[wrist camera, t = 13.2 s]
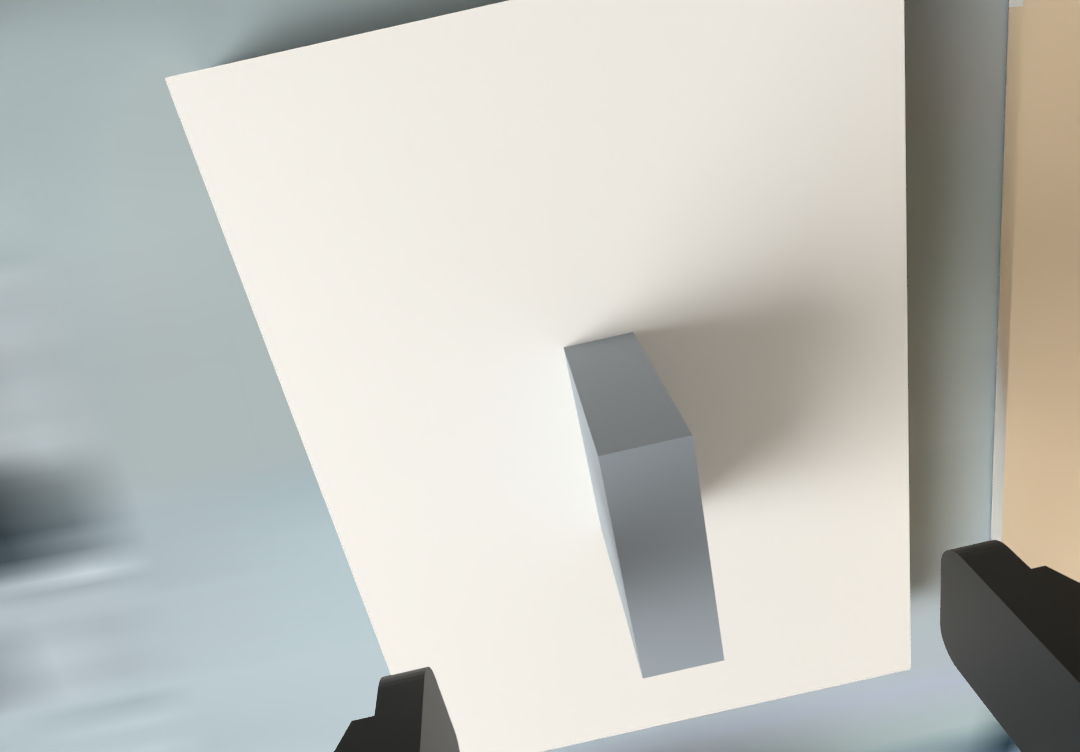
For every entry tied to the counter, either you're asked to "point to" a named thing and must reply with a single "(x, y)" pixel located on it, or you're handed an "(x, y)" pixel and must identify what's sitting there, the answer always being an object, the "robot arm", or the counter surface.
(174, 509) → the counter surface
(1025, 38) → the base
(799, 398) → the lid
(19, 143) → the counter surface
